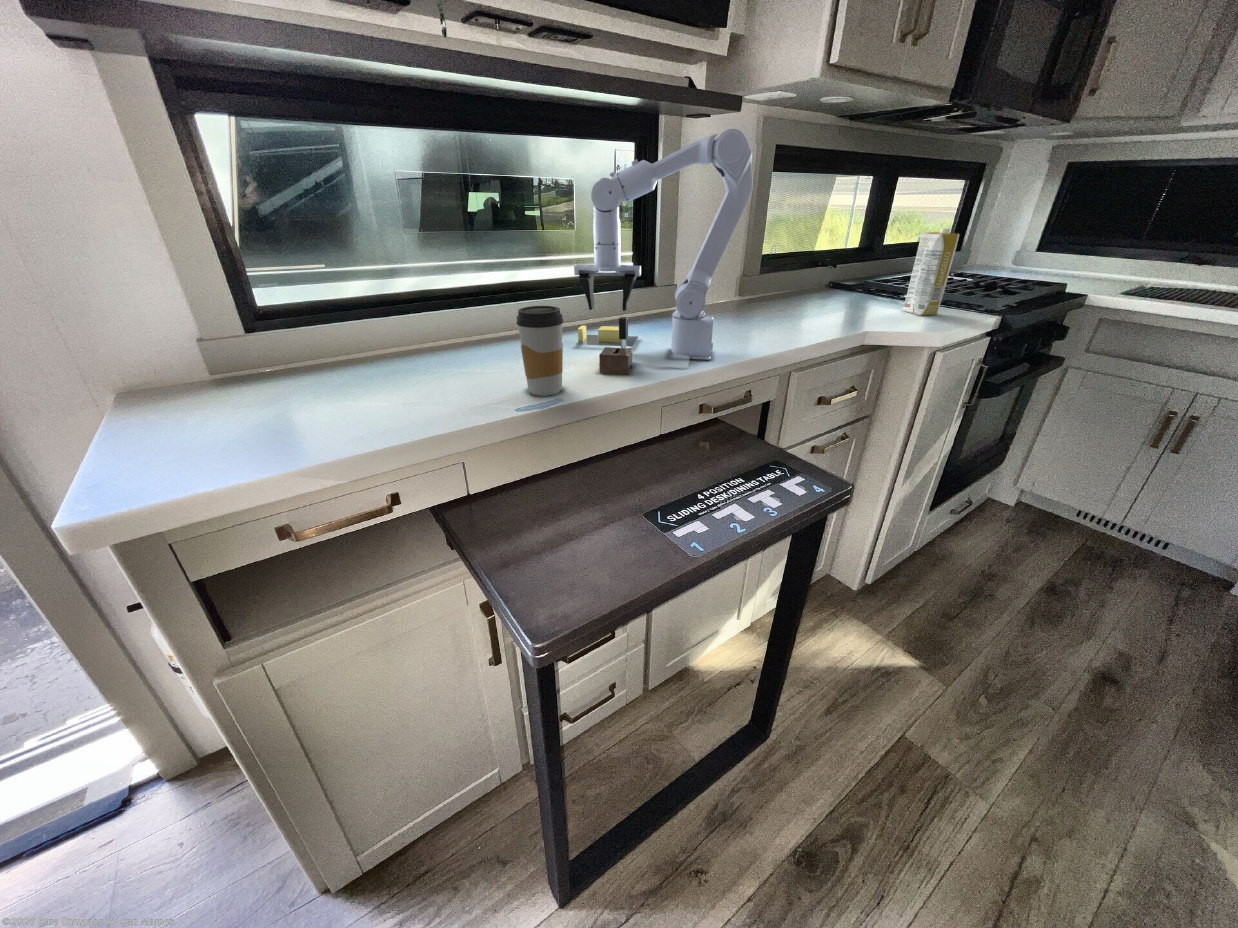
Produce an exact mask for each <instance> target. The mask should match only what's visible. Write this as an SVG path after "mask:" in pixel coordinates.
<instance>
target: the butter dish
mask: <svg viewBox="0 0 1238 928" xmlns="http://www.w3.org/2000/svg"><path fill="white" fill-rule="evenodd" d="M638 338H639V335H638V336H637V335H636V336H635V335H633V336H632V335H628V338H627V339H626V347H630V348H633V347H634V345H635V343H636V342H637V340H638ZM576 345H579V346H581V345H584V346H605V347H609V346H610V347H621V343H617V342H599V341H598V334H586V339H585V340H584V341H577V343H576Z"/></svg>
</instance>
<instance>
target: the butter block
mask: <svg viewBox="0 0 1238 928" xmlns="http://www.w3.org/2000/svg"><path fill="white" fill-rule="evenodd" d="M597 333H598V334H597V335H598V341H599V342H617V343H621V340H622V339H619V326H611V325H609V326H607V325H606V326H605V325H601V326H600V327H599V328H598V329H597Z"/></svg>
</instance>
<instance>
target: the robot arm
mask: <svg viewBox="0 0 1238 928" xmlns="http://www.w3.org/2000/svg"><path fill="white" fill-rule="evenodd" d="M717 136H718V137H717ZM752 158H753V150H752V148H751V145H750V143H749V141H748V139H747V136H746V135H745V133H744V132H742V131H741V130H740V129H737V128H728V129H726V130H724V131H722V132H721V133H720V134H718V133H716V134H712V135H711V134H710V135H708V136H706V137H703V138H700V139H698V140H695V141H694V142H691V143H689V144H688V145H686V146H684V147H681V148H680V149H677V150H675V151H674V152H672V153H670V154H668V155H666V156H665V157H663V158H661V159H659V160H657V161H655V162H653V163H651V162H649V161H647V160H645V159H642V160H640V161H638V159H634V160H632V161H631V165H630V166H627V167H625V168H623V169H621V170H619V171H618V172H615V171H611V172H610V173H609V177H601V178H600V179H599V180H598V181H596V182H595V183H594V184H593V186H592V188H591V192H590V199H591V202H592V204H593V211H592V214H593V220H592V233H593V234H592V236H593V264H575V265H573V273H574V276H578V278H577V280H578V283H579V284H580V287H581V288H582V290H583V293H584V295H585V298H586V301H587V305H588V310H589V311H592V310H594V309H595V298H594V297H595V296H594V283H595V281H594V280H595V276H621V277H622V278H621V282H622V283H621V284H622V311H624V312H625V311H627V310H628V306H629V300H630V295H631V293H632V290H633V287H634V285H635V282H636V280H637V277H641V276H642V265H632V264H631V265H630V264H621V263H622V262H621V219H620V204H621V203H624V204H627V203H629V202H631V201H634V200H636V199H638V198H640V197H642V196H645V195H647V194H648V193H650V192H653V191H654V190H655V188H656V187H657V186H656V185H657V183H658V181H659V180H661V179H663V178H666V177H668V176H669V175H672V174H675V173H677V172H679V171H681V170H683V169H686V168H689V167H690V166H693V165H701V166H709V165H711V164H712V166H713V167H714V169H715V170H716V171H717V173H719V175H720V176H721V180H722V183H723V186H724V189H725V194H724V196H723V198H722V200H721V203H720V205H719V207H718V209H717V211H716V214H715V216H714V218H713V220H712V221H711V224H710V227H709V229H708V230H707V234H706V236H705V237H704V240H703V242H702V245H701V247H700V249H699V251H698V253H697V256H696V258H695V260H694V262H693V265H692V267H691V268H690V269H689V272H688V273H687V275H686V278H685V279H684V281H682V283H681V284H679V285H678V286H677V288H676V289H675V292H674V301H675V307H676V309H675V311H673V312H672V316H671V317H672V318H671V319H672V321H671V344H670V345H671V347H670V351H671V352H672V353H673V354H676V355H680V356H689V360H705V361H707V360H708V361H710V360H711V354H712V351H713V349H714V342H713V330H714V329H713V328H714V317H713V316H708V315H706V312H705V311H704V309H705V307H706V301H707V300H706V298H707V297H706V296H707V293H708V291H709V288H710V285H711V282H712V278H713V276H714V273H715V271H716V269H717V267H718V265H719V263H720V261H721V259H722V257H723V255H724V252H725V250H726V248H727V246H728V244H729V242H730V240H731V237H732V235H733V233H734V231H735V229H736V227H737V225H738V223H739V221H740V218H741V216H742V214H743V212H744V210H745V208H746V206H747V204H748V202H749V199H750V197H751V195H752V193H753V189H754V184H753V183H754V182H753V165H752V164H753V163H752Z"/></svg>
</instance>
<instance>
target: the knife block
mask: <svg viewBox="0 0 1238 928" xmlns="http://www.w3.org/2000/svg"><path fill="white" fill-rule="evenodd" d="M633 350H634V349H633V347H626V348H621V347H613V346H610V347H609V346H605V347H604V348H603V349H602V351H601V352H600V353H599V355H598V357H599V359H598V360H599V374H602V375H623V376H624V375H625V376H628V375H630V372H631V371H632V368H633V366H634V365H633V361H634V357H633V355H634V353H633Z"/></svg>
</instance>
